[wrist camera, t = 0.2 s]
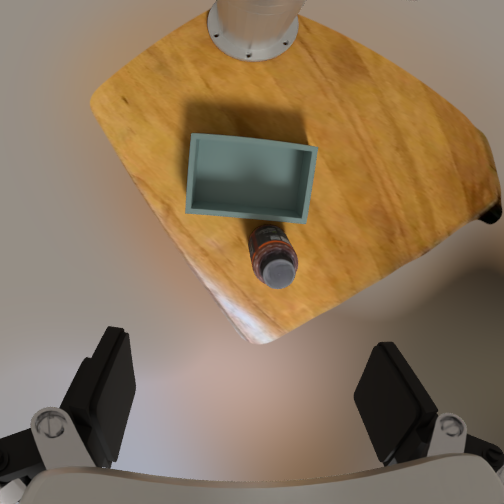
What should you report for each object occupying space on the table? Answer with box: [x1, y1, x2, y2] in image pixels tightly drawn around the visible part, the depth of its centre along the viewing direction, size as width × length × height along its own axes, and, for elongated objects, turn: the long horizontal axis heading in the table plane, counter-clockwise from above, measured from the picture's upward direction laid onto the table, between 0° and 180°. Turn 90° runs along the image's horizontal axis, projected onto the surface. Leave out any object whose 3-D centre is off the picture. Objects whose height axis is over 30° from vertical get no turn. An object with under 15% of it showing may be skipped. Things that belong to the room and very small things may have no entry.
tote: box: [185, 133, 318, 224], centre depth 41 cm, size 10×16×5 cm, turn 84°
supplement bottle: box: [248, 225, 298, 289], centre depth 42 cm, size 6×6×11 cm
